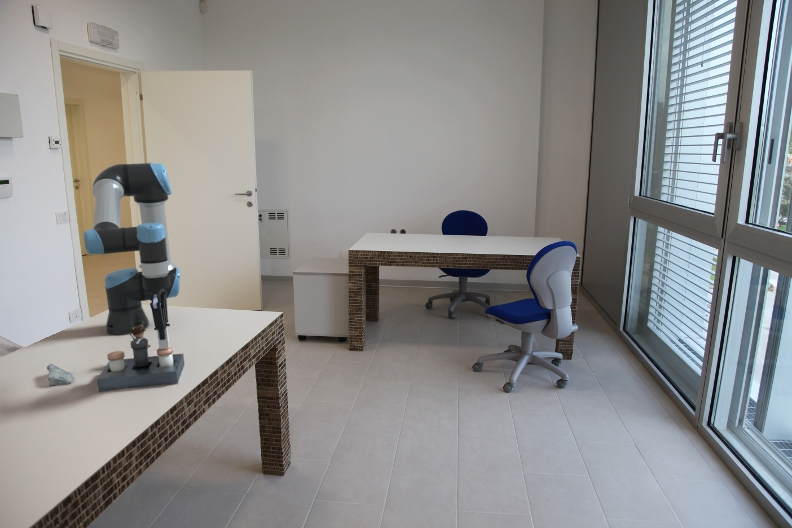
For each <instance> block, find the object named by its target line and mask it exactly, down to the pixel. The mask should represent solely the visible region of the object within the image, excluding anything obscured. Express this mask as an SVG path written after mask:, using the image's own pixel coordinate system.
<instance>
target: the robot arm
mask: <svg viewBox="0 0 792 528" xmlns="http://www.w3.org/2000/svg"><path fill="white" fill-rule="evenodd" d="M91 190H92V195H93V196H94V210H93V211H94V213H93V225H92V228H91V229H86V230H85V231H84V233H83V243H84V247H85V251H86V253H87V254H89V255H106V254H107V255H108V254H115V253H126V252H127V253H128V252H138V254H139V258H140V264H139V266H138V268H140V269H141V271H139V270H138V269H137V268H136V267H127V268H121V269H118V270H114V271H112V272H110V273H108V274H107V275H105V276H104V289H105V293H106V301H107V307H108V314H107V318H106V324H105V330H106V333H108V334H109V335H117V336H118V335H119V336H120V335H128V334H129V335H130V334H132V332H131V331H132V329H133V327H134V326H135V325H136V326H137V324H138V325H143V326H144V325H145V326H144V328H146V329H148V328H149V326H150V322H149V318H148V316H147V314H146V312H145V311H144V308H143V305H142V304H143V303H142V302H145V301H146V302H147V301H151V302H150V303H149V306H150V309H151V314H152V318H153V324H154V328H153V330H154V331H156V332H157V339H158V349H168V348H169V347H171V345H170V340H169V330H168V327H170V325H171V324H170V323H169V316H168V315H169V314H168V299H169V298H176V297H177V296H178V295H179V294H180V289H181V288H180V285H181V271H180V268H179V267H176V264H175V263H174V262H173V261H171V255H170V254H171V253H170V245H169V235H168V225H167V215H166V209H165V207H166V206H165V204H166V202H168V200H169V196H171V195H172V189H171V185H170V180H169V176H168V173H167V169H166V166H165V165H164V164H162V163H152V162H148V163H147V162H145V163H144V162H143V163H118V164H114V165H112V166H109V167H107V168H105V169H104V170H102V171H101V172H100V173H99V174H98V175H97V176H96V178H95V179H94V181H93V183H92V189H91ZM125 197H133V201H134V202H135V203H136V204H137V205H138V206H139V214H140V221H141V224H139V225H137V226H130V227H129V226H128V227H127V226H126V227H122V226H121V219H122V218H121V215H122V214H121V210H122V209H121V206H122V205H121V201H122V199H123V198H125ZM132 321H133V322H132ZM140 321H141V322H140ZM143 321H144V322H143ZM131 323H132V324H131ZM146 326H147V327H146ZM130 328H131V329H130Z"/></svg>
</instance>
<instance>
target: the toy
mask: <svg viewBox="0 0 792 528" xmlns="http://www.w3.org/2000/svg"><path fill="white" fill-rule="evenodd" d="M132 322H133V321H132ZM140 322H141V321H140ZM143 322H144V321H143ZM131 324H132V323H131ZM144 326H145V325H144ZM144 326H143V325H138V324H137V326H136V325H135V326H134V327H133V329H132V331H131V332H132V333H130V334H129V335H130V337H131V338H132V340H135V339H141V338H145V339H146V337H145V332H146V331H147V328H148V327H147V326H146V327H147V328H144ZM130 329H131V328H130ZM149 348H151V344H148V346H147V350H148V349H149Z"/></svg>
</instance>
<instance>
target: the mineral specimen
mask: <svg viewBox="0 0 792 528" xmlns="http://www.w3.org/2000/svg"><path fill="white" fill-rule="evenodd" d="M46 369H47V370H48V377H47V380H48V384H49V386H57V385H58V386H60V385H61V386H62V385H69V384H72V383H73V381H74V377H73V372H72V371H68V370H67V371H66V370H65V369H63V368H61V367H58V366H56V365H54V364H52V363H50V364H49V365H47V366H46Z"/></svg>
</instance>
